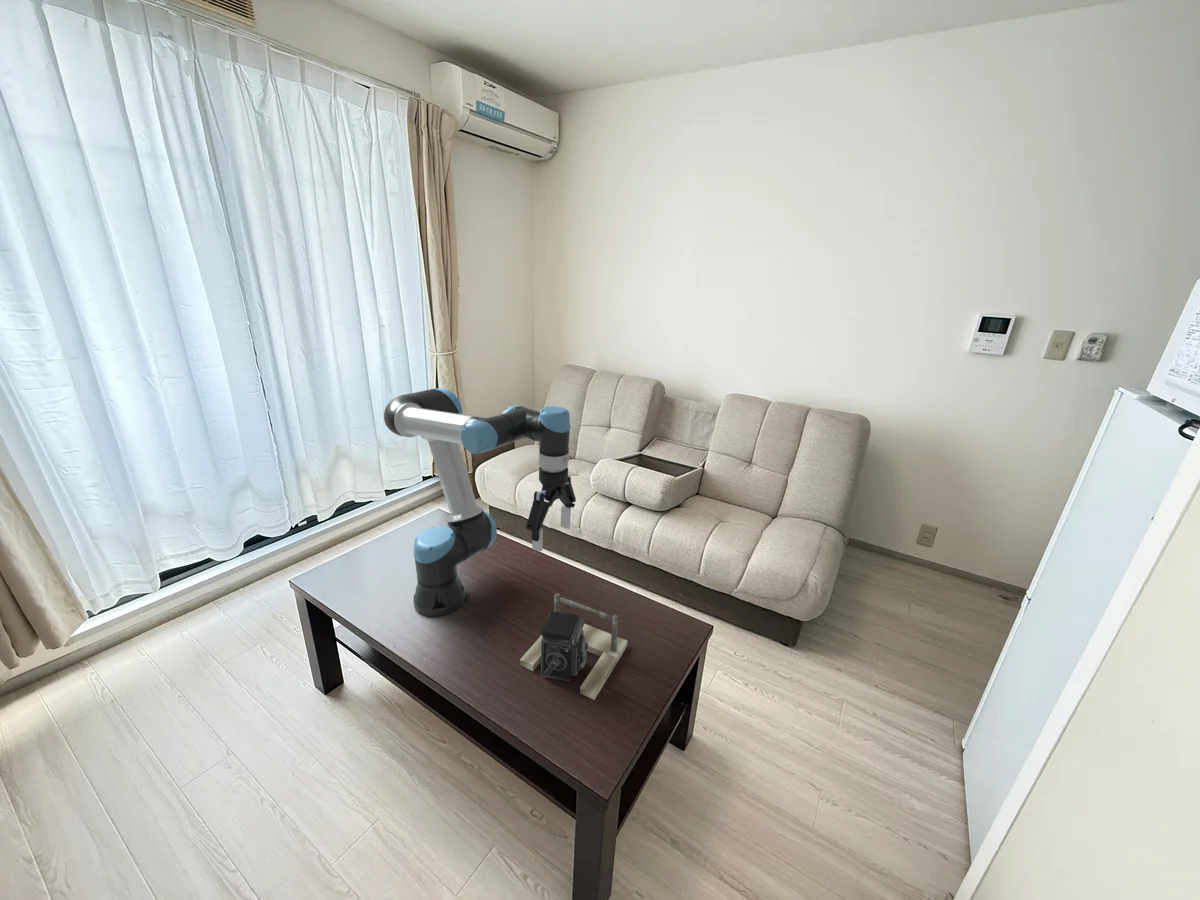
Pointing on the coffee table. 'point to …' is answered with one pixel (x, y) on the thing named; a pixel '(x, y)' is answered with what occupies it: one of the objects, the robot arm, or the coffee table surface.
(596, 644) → the wooden rack
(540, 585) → the coffee table surface
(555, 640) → the camera
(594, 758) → the coffee table surface
